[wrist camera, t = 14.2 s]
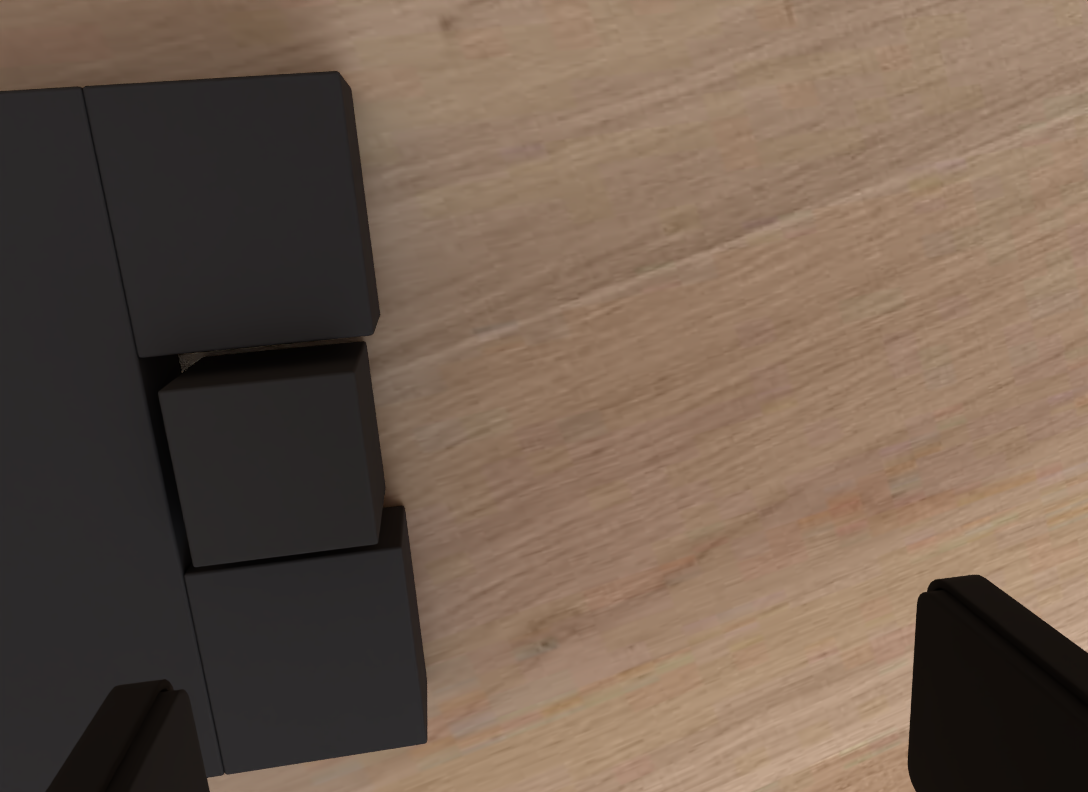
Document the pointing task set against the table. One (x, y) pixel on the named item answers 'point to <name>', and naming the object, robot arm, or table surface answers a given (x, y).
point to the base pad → (139, 433)
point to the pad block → (276, 452)
